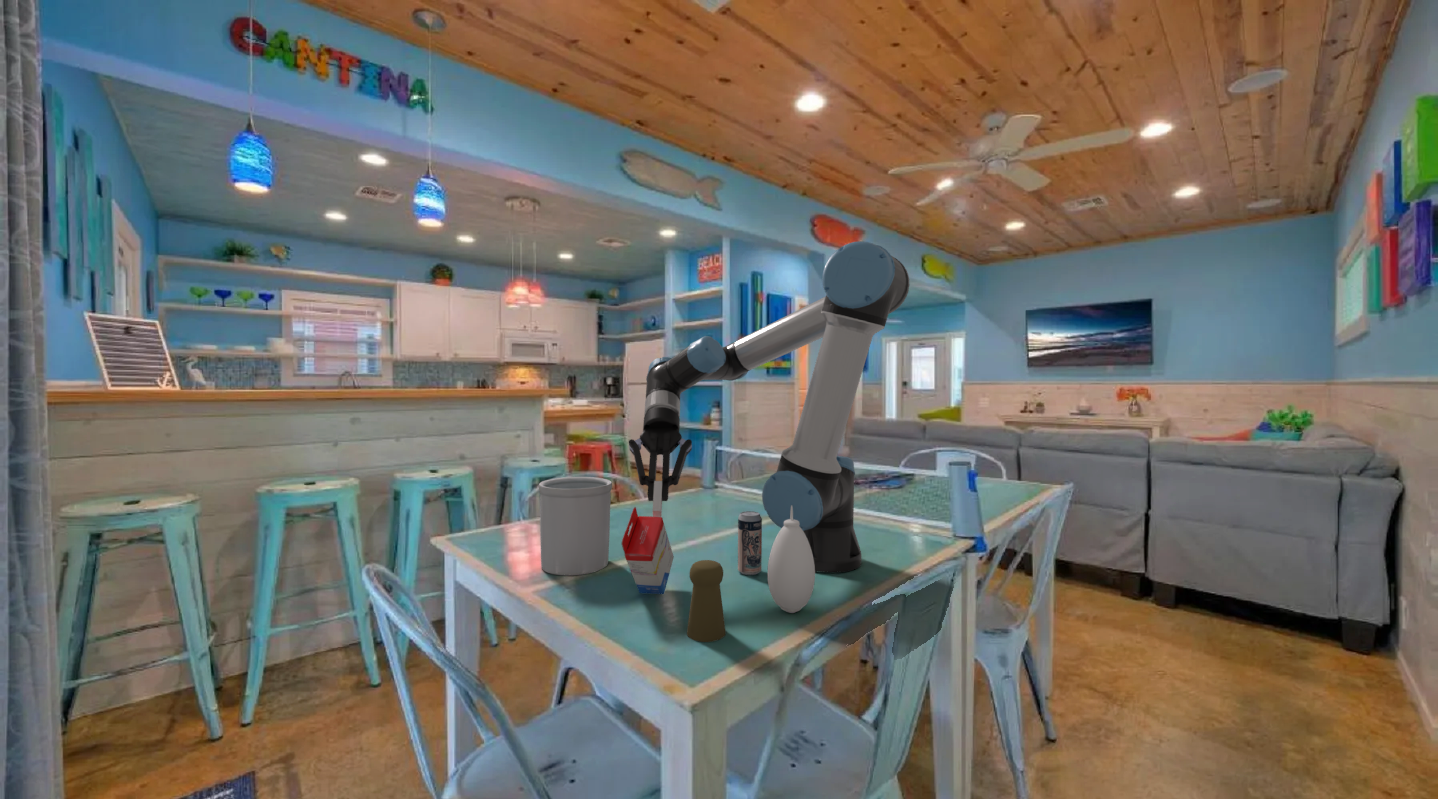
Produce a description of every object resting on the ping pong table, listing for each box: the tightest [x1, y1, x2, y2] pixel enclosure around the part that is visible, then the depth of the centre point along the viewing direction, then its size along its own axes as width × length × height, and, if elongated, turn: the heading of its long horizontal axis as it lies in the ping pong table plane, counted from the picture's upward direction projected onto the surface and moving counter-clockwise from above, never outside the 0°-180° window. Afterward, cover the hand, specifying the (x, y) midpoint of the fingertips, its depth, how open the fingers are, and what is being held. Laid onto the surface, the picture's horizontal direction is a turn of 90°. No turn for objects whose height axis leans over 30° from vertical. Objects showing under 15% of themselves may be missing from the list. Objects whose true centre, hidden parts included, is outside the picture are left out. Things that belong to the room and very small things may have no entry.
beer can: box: [737, 510, 763, 576], centre depth 112 cm, size 5×5×12 cm
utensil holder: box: [538, 476, 613, 576], centre depth 116 cm, size 15×15×18 cm
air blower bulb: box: [767, 505, 816, 614], centre depth 93 cm, size 8×8×18 cm
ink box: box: [621, 506, 674, 595], centre depth 99 cm, size 8×5×15 cm
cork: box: [686, 559, 727, 643], centre depth 85 cm, size 6×6×11 cm
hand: (656, 514), depth 101 cm, fingers closed
